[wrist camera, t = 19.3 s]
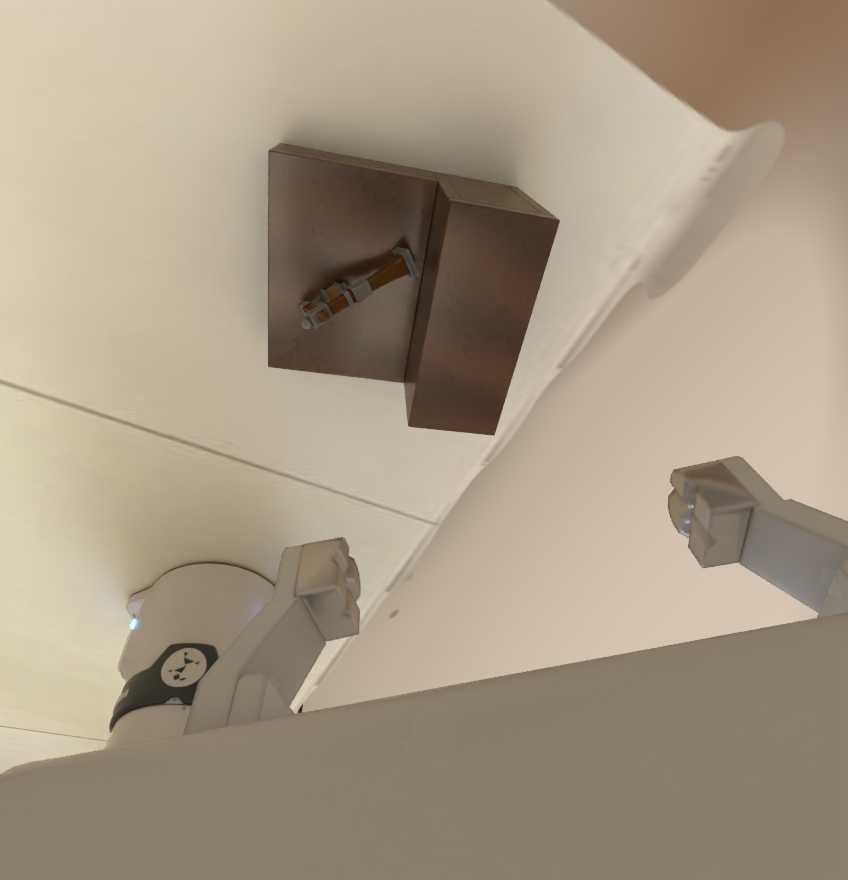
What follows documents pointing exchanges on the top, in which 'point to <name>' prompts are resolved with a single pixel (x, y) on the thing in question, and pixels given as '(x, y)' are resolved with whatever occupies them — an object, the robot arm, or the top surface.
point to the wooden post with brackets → (355, 290)
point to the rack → (405, 279)
